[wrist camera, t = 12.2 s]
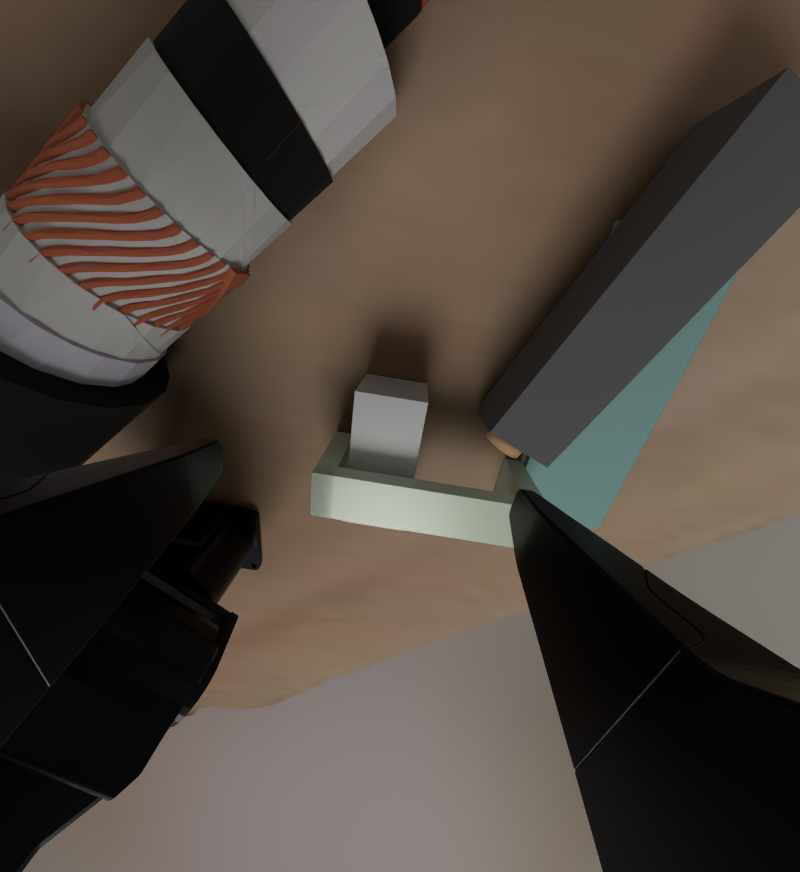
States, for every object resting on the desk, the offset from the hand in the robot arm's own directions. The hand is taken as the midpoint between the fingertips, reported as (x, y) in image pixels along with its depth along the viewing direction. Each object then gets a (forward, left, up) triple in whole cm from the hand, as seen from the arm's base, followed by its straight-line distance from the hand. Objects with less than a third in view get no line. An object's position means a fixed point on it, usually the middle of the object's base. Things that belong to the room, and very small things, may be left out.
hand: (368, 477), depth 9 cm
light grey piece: (-6, -3, -12) cm, 14 cm away
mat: (0, -14, -12) cm, 18 cm away
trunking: (-5, 0, -12) cm, 13 cm away
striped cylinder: (+6, +12, -12) cm, 18 cm away
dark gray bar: (+6, -10, -12) cm, 17 cm away
